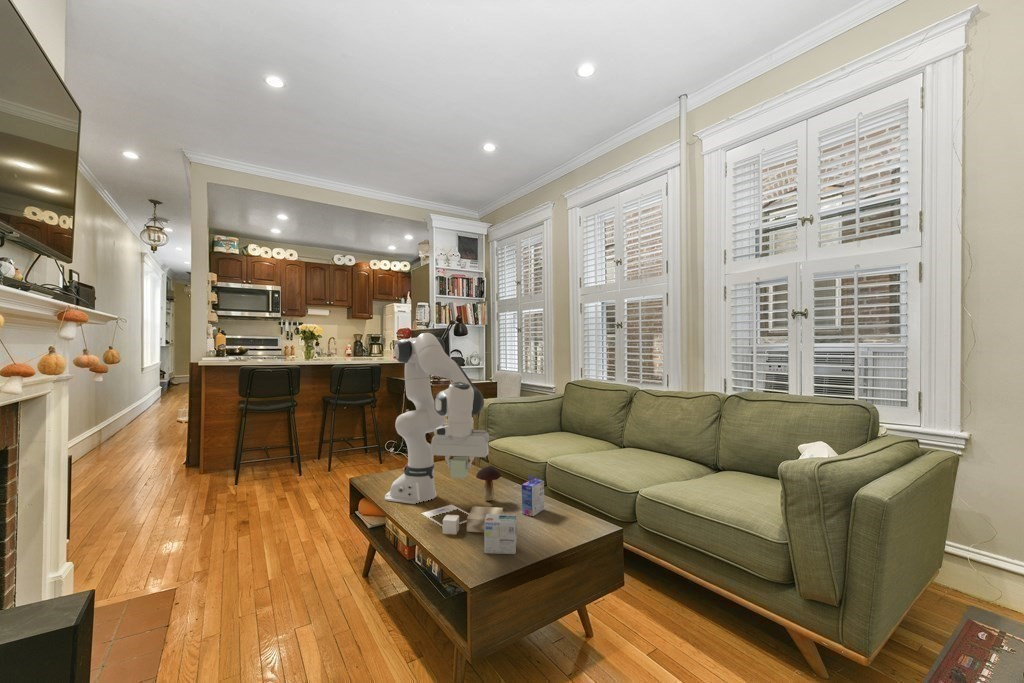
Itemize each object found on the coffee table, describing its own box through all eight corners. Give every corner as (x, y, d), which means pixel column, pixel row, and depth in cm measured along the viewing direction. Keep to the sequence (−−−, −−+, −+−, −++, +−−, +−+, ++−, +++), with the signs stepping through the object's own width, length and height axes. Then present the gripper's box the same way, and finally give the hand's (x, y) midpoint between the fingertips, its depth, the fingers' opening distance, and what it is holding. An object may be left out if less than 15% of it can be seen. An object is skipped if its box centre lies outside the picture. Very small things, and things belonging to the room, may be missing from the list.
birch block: (466, 532, 159) (466, 518, 159) (472, 519, 171) (472, 506, 171) (499, 533, 158) (499, 520, 158) (502, 520, 169) (502, 507, 170)
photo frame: (451, 504, 184) (477, 517, 170) (451, 506, 184) (477, 520, 170) (421, 512, 174) (445, 527, 161) (421, 515, 174) (445, 530, 161)
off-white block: (442, 533, 157) (442, 520, 157) (445, 528, 162) (446, 514, 162) (456, 534, 156) (456, 520, 156) (459, 528, 161) (459, 515, 161)
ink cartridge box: (533, 506, 183) (533, 472, 184) (544, 509, 180) (545, 474, 180) (520, 514, 175) (521, 478, 175) (532, 517, 172) (533, 480, 172)
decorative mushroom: (491, 507, 182) (491, 471, 182) (470, 501, 188) (471, 467, 188) (506, 499, 191) (506, 465, 191) (486, 494, 197) (486, 461, 197)
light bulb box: (516, 545, 148) (516, 513, 148) (516, 554, 142) (516, 521, 142) (485, 544, 149) (485, 512, 149) (483, 553, 142) (483, 521, 142)
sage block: (450, 477, 150) (450, 460, 150) (454, 473, 155) (454, 456, 155) (464, 478, 149) (465, 461, 149) (467, 474, 154) (468, 457, 154)
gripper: (490, 428, 154) (490, 467, 154) (434, 426, 156) (434, 464, 156) (487, 431, 148) (487, 472, 148) (429, 430, 150) (429, 469, 150)
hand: (459, 468), depth 152 cm, fingers closed on sage block, 5 cm apart
